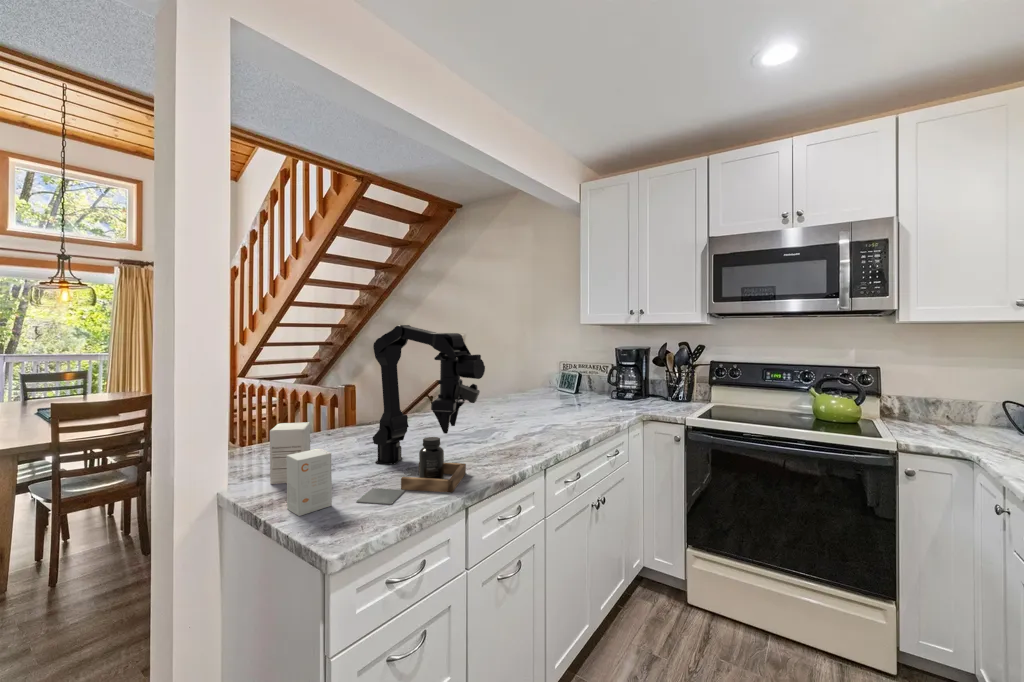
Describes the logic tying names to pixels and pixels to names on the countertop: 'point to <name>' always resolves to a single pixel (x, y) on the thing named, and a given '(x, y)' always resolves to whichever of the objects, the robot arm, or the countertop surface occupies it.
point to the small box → (309, 481)
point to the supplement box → (286, 447)
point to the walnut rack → (437, 480)
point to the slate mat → (381, 496)
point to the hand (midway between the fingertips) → (449, 429)
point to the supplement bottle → (431, 459)
